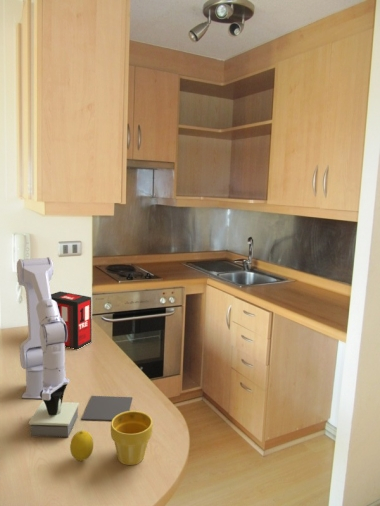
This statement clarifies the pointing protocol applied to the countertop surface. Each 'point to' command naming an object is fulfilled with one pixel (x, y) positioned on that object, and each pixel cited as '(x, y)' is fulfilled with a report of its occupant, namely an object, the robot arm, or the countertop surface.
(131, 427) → the plant pot
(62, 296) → the cleaning product box
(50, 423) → the lid
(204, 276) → the countertop surface
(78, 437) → the lemon
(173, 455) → the countertop surface
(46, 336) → the robot arm
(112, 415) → the mat
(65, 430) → the storage box
